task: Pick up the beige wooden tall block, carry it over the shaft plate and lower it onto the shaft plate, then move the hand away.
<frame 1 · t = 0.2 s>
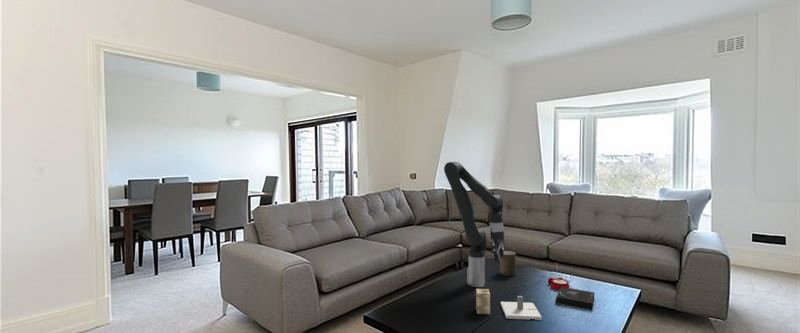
hand: (499, 258, 207), 18 cm above the table, tool pointing down, fingers open, 8 cm apart
beige wooden tall block: (482, 311, 179), on the table
portable cd player: (574, 302, 191), on the table
pillar candle: (507, 274, 235), on the table
alarm clock: (558, 287, 212), on the table
shaft plate: (520, 311, 179), on the table
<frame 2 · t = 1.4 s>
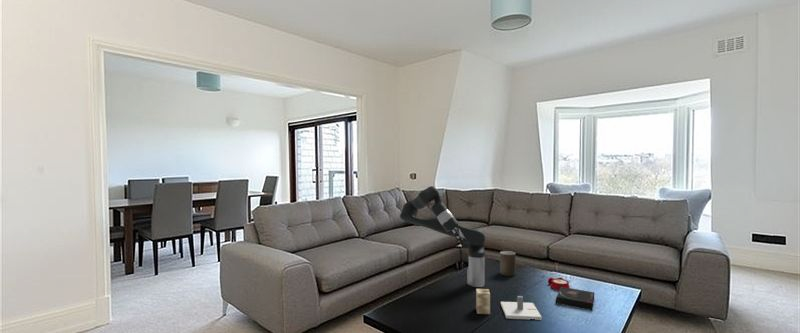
hand: (467, 246, 183), 31 cm above the table, tool tilted 40°, fingers open, 8 cm apart
nothing on the table moved.
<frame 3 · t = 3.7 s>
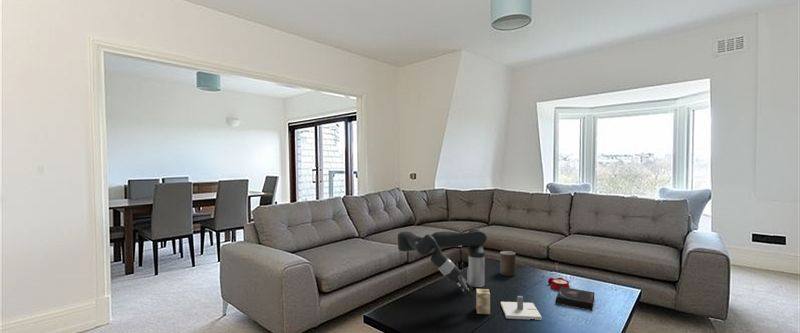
hand: (472, 293, 179), 9 cm above the table, tool tilted 45°, fingers open, 8 cm apart
nothing on the table moved.
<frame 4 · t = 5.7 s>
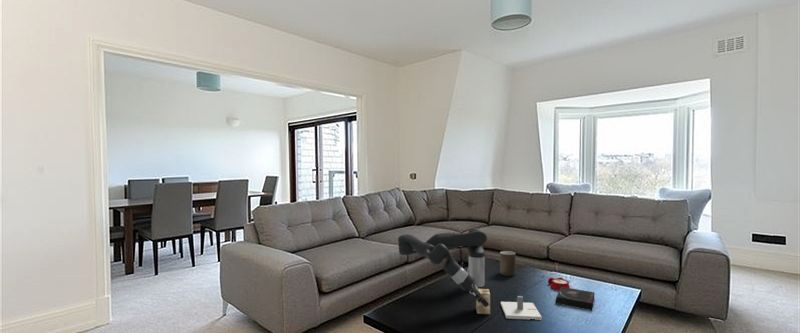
hand: (486, 302, 179), 4 cm above the table, tool tilted 45°, fingers closed on beige wooden tall block, 6 cm apart
beige wooden tall block: (482, 311, 179), on the table, touching gripper
everything else where it was.
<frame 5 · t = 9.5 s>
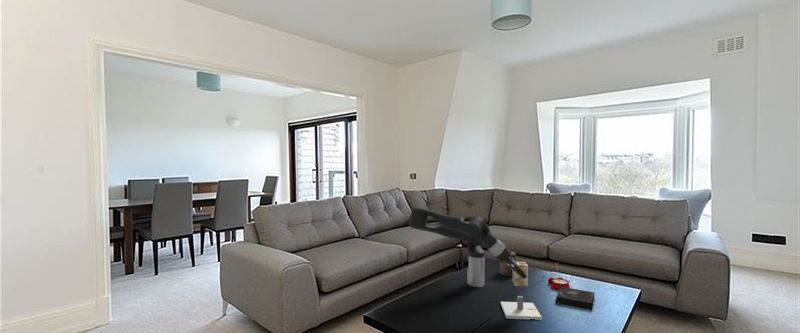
hand: (523, 275, 178), 18 cm above the table, tool tilted 45°, fingers closed on beige wooden tall block, 6 cm apart
beige wooden tall block: (520, 283, 178), point 14 cm above the table, touching gripper
everything else where it was.
when the fingers open (8 cm above the table, at t = 13.2 s): beige wooden tall block drops 2 cm, resting on shaft plate.
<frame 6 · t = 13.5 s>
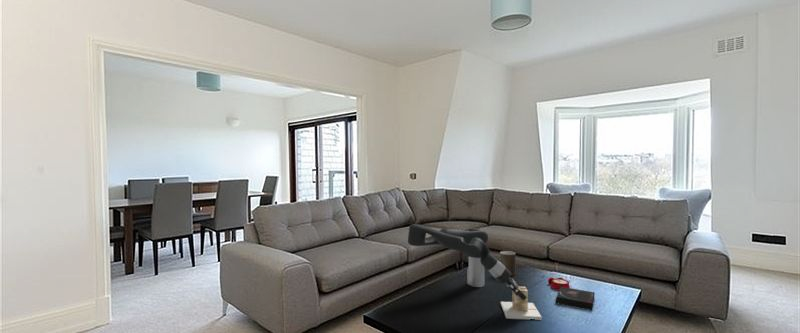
hand: (523, 295, 178), 8 cm above the table, tool tilted 45°, fingers open, 8 cm apart
beige wooden tall block: (519, 308, 179), point 1 cm above the table, touching shaft plate
everything else where it was.
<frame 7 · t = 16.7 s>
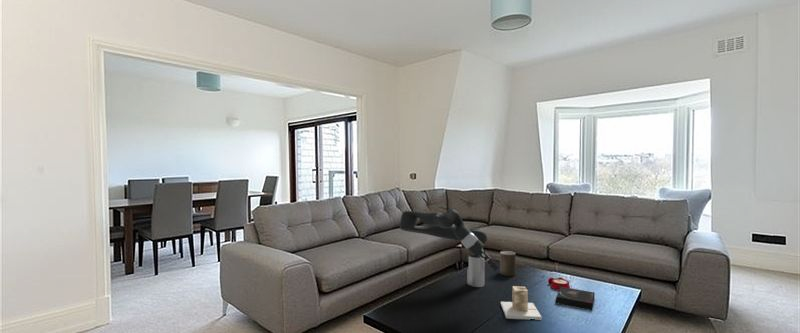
hand: (495, 268, 179), 21 cm above the table, tool tilted 45°, fingers open, 8 cm apart
nothing on the table moved.
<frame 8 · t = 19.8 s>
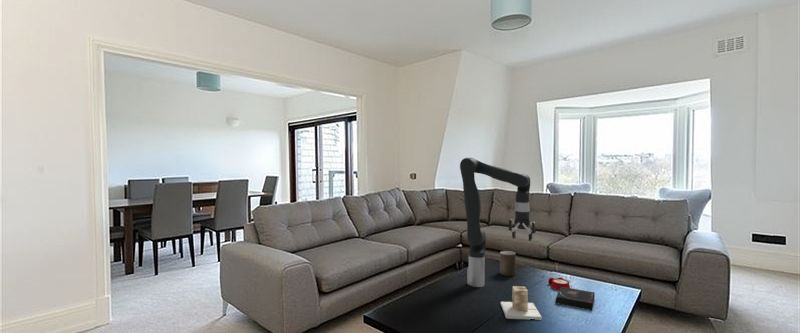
hand: (522, 239, 201), 30 cm above the table, tool pointing down, fingers open, 8 cm apart
nothing on the table moved.
at the end: beige wooden tall block 0.1 cm off-centre on the shaft plate, point 1.5 cm above the shaft plate's base; beige wooden tall block tilted 0°; the gripper is holding nothing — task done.
